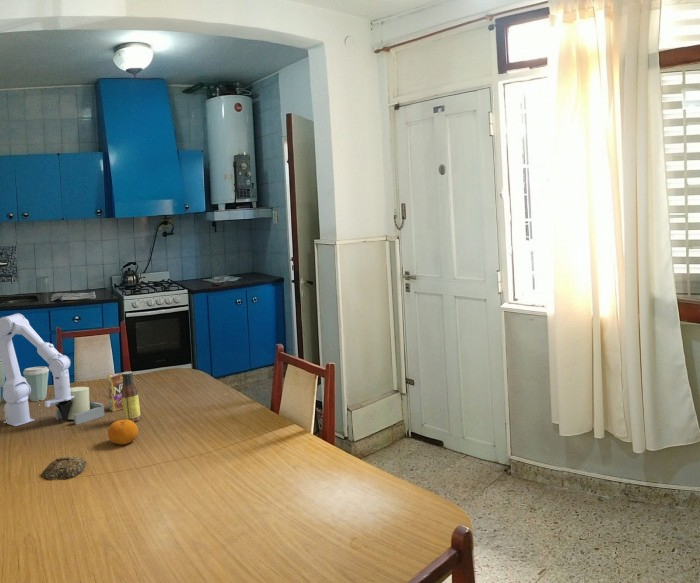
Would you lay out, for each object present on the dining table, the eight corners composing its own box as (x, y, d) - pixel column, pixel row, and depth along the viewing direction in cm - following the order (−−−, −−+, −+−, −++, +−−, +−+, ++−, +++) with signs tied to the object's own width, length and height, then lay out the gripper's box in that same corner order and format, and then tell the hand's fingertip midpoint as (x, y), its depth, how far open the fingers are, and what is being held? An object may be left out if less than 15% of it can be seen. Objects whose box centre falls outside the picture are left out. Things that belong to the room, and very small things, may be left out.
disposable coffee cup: (26, 398, 288) (23, 366, 286) (52, 394, 292) (49, 363, 290) (25, 404, 278) (21, 371, 276) (51, 400, 283) (48, 368, 281)
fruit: (107, 449, 220) (105, 427, 219) (110, 439, 230) (108, 418, 229) (138, 445, 223) (136, 423, 222) (139, 435, 233) (138, 415, 232)
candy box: (113, 412, 262) (110, 376, 260) (109, 409, 265) (106, 375, 263) (133, 406, 268) (130, 372, 266) (129, 404, 271) (126, 370, 270)
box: (56, 419, 255) (54, 407, 255) (84, 410, 266) (83, 399, 265) (76, 424, 247) (75, 412, 247) (104, 415, 258) (103, 404, 257)
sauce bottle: (143, 417, 253) (139, 370, 250) (136, 423, 247) (132, 374, 244) (128, 418, 254) (124, 370, 251) (121, 423, 248) (116, 374, 245)
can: (62, 417, 256) (60, 388, 255) (83, 412, 263) (82, 384, 263) (73, 420, 250) (71, 391, 250) (95, 415, 257) (93, 386, 257)
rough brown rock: (91, 464, 208) (90, 449, 207) (76, 479, 196) (75, 464, 195) (52, 465, 208) (51, 451, 207) (35, 481, 195) (33, 466, 195)
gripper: (50, 392, 241) (53, 426, 243) (84, 383, 253) (87, 415, 255) (40, 390, 245) (43, 423, 247) (74, 381, 257) (77, 412, 259)
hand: (65, 419), depth 251 cm, fingers closed
